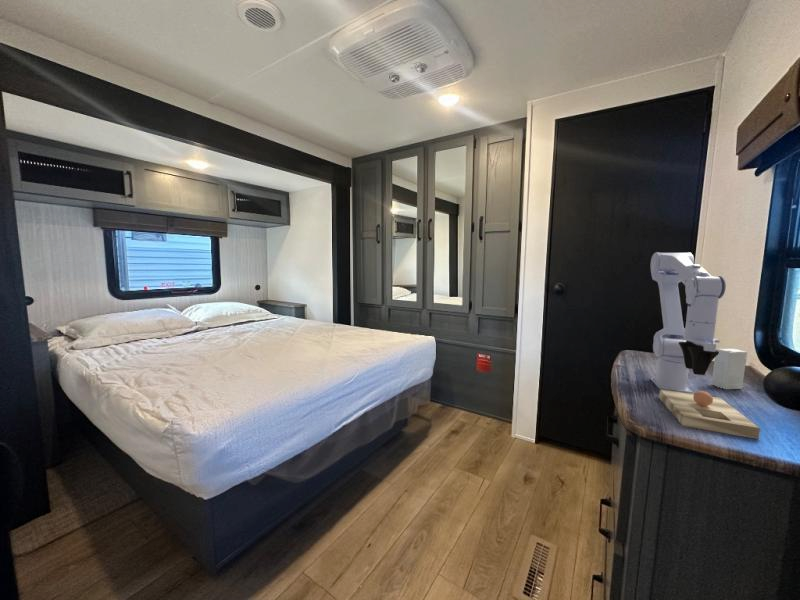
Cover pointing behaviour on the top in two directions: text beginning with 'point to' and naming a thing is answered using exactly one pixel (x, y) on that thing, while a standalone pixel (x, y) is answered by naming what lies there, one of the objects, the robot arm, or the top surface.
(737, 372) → the skincare box
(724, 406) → the beige flat board
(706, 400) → the ball
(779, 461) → the top surface
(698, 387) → the top surface
